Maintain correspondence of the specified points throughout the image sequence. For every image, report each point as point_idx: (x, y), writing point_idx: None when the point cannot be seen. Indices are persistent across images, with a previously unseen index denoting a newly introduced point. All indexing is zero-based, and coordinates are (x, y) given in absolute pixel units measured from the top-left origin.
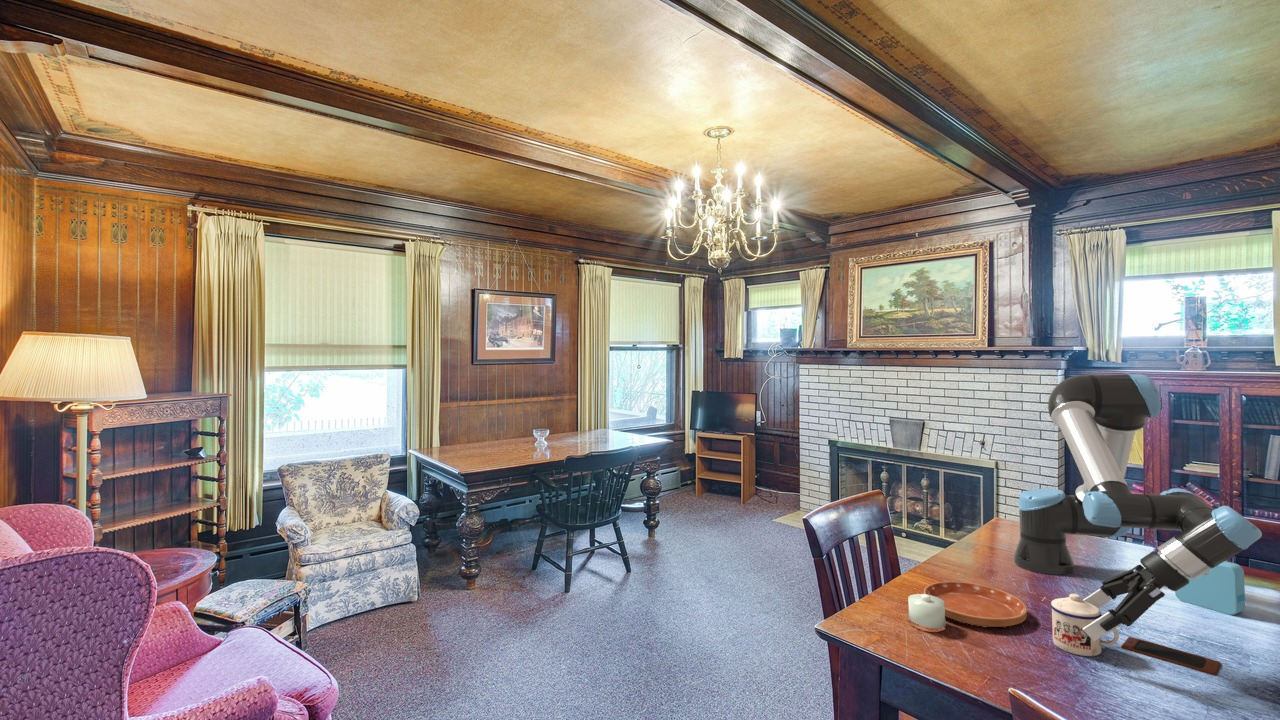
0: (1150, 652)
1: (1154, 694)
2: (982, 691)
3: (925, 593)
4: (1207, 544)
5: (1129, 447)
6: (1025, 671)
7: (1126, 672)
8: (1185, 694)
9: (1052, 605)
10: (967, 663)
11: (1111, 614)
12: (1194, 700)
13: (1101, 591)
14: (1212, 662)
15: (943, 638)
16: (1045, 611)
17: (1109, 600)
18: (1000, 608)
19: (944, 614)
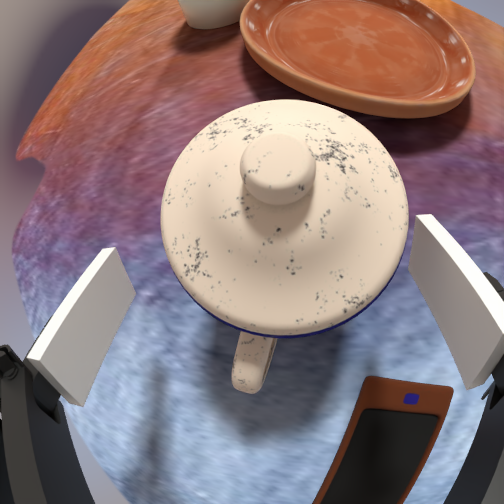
0: (363, 445)
1: (103, 405)
2: (27, 141)
3: None
4: None
5: None
6: (86, 165)
7: (181, 375)
8: (143, 466)
9: (241, 108)
10: (90, 94)
11: (33, 364)
12: (127, 470)
13: (495, 340)
14: None
15: (172, 39)
16: (494, 175)
17: (464, 378)
18: (413, 77)
19: (204, 4)
